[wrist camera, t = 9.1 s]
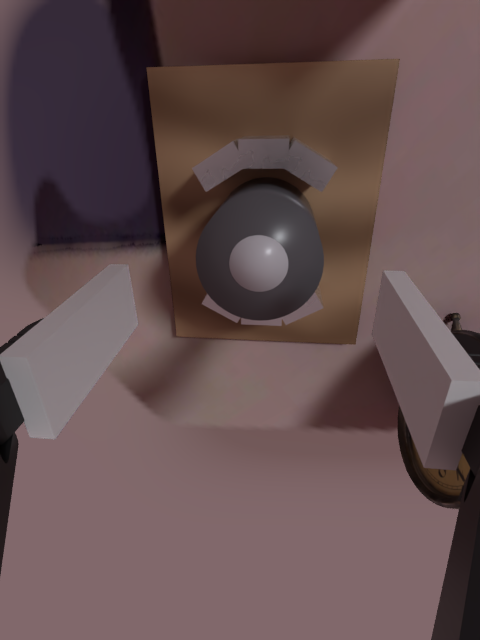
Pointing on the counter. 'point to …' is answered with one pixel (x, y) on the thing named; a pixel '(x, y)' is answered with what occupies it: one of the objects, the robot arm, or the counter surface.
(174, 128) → the board
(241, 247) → the dark grey cylinder
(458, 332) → the alarm clock
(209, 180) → the grey curved walls
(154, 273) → the counter surface
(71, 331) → the robot arm
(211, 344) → the counter surface
